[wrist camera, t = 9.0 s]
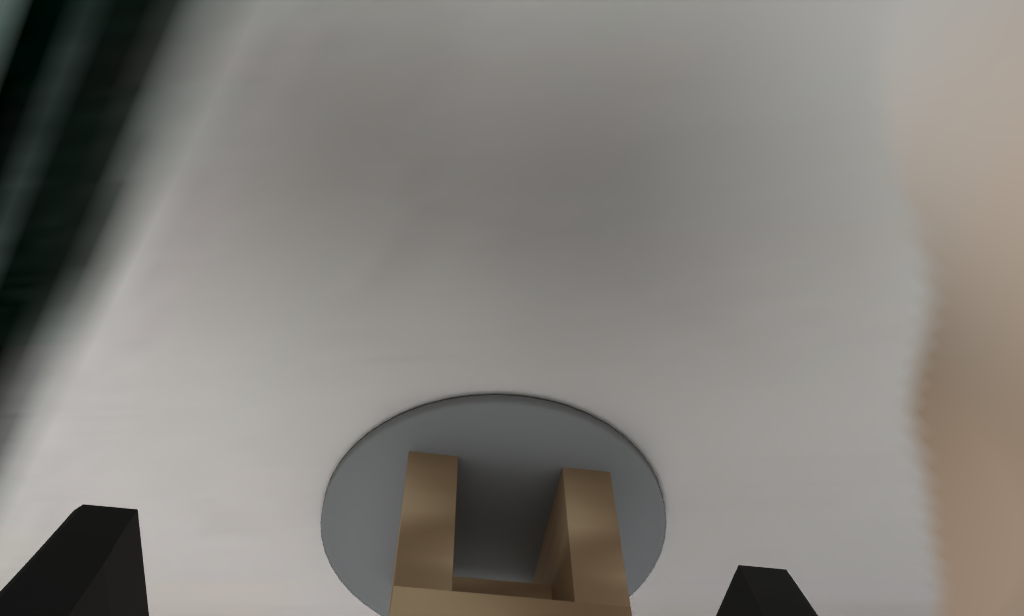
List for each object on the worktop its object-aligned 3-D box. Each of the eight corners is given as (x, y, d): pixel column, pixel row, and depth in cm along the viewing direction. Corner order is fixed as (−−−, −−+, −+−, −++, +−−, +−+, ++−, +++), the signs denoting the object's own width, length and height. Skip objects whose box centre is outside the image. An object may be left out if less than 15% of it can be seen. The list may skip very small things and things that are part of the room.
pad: (704, 416, 22) (707, 427, 22) (621, 642, 27) (623, 654, 27) (330, 375, 21) (328, 386, 21) (316, 617, 26) (314, 629, 26)
